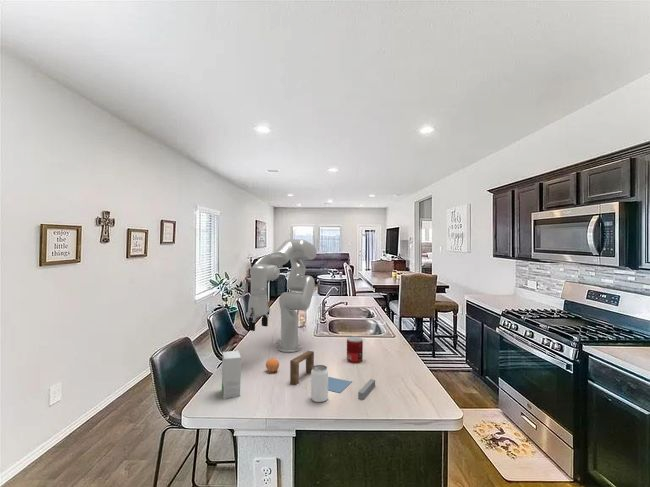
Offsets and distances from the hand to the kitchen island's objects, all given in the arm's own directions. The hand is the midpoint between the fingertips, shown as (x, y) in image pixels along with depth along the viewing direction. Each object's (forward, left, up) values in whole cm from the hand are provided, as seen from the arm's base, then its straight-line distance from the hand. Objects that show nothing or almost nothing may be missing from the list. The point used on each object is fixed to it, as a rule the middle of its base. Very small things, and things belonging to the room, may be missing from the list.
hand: (258, 328), depth 161 cm
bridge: (+24, 0, -19) cm, 31 cm away
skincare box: (+7, -26, -19) cm, 33 cm away
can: (+40, -14, -19) cm, 47 cm away
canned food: (+36, +31, -19) cm, 51 cm away
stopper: (+54, 0, -19) cm, 58 cm away
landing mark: (+39, 0, -19) cm, 44 cm away
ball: (+8, 0, -16) cm, 18 cm away
